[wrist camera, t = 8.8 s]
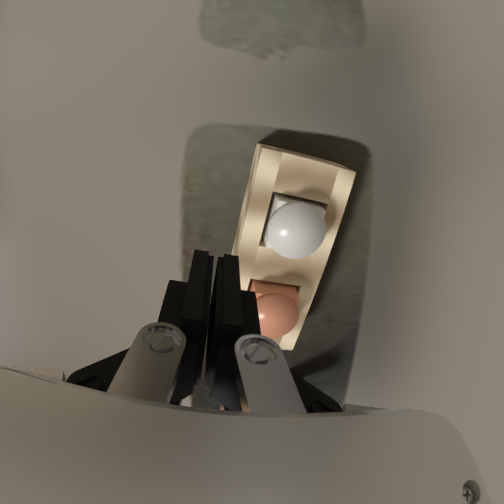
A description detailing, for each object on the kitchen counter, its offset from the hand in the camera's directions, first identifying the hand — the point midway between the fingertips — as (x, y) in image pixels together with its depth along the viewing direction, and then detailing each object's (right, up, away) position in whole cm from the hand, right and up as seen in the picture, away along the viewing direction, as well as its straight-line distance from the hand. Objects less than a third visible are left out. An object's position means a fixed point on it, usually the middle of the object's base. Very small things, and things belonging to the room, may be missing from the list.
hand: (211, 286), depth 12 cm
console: (+4, +2, +26) cm, 27 cm away
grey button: (+6, +6, +23) cm, 24 cm away
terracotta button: (+3, -3, +26) cm, 27 cm away
